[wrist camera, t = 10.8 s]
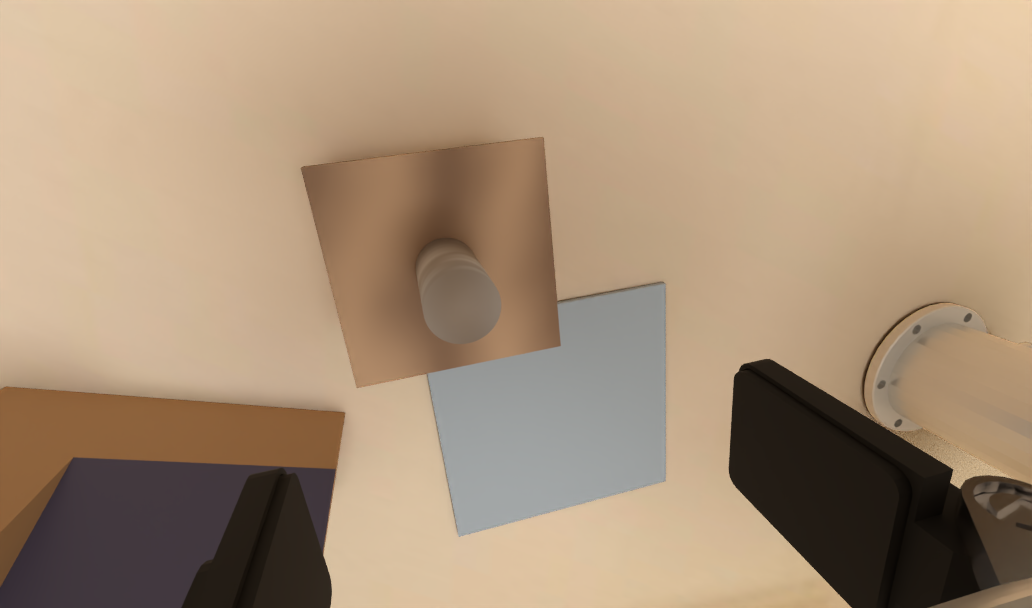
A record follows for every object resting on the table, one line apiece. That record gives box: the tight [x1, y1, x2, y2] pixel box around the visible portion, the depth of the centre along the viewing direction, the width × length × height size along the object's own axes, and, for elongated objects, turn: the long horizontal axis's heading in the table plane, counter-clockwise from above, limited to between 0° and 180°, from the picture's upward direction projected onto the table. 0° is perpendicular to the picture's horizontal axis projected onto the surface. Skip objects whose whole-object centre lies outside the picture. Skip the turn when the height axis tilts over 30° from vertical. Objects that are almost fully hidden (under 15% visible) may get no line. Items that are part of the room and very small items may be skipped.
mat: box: [427, 282, 666, 537], centre depth 38 cm, size 18×18×1 cm
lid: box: [301, 137, 561, 388], centre depth 22 cm, size 11×11×7 cm
